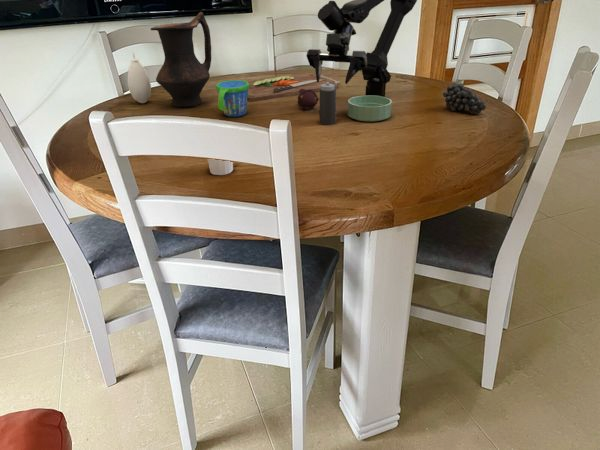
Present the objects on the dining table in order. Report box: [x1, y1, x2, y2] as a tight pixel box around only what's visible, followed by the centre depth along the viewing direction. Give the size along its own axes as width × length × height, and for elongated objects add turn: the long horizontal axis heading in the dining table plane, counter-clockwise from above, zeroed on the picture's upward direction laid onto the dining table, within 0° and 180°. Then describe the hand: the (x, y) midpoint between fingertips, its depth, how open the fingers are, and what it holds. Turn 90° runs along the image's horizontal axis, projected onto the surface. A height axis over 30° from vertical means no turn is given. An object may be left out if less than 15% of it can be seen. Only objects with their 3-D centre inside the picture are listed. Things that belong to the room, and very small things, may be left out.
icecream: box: [296, 89, 320, 111], centre depth 157 cm, size 7×7×15 cm
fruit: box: [442, 82, 487, 115], centre depth 150 cm, size 9×8×15 cm
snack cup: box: [215, 79, 249, 118], centre depth 153 cm, size 16×10×10 cm
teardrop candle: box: [127, 51, 152, 104], centre depth 167 cm, size 8×8×18 cm
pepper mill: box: [319, 82, 337, 126], centre depth 142 cm, size 5×5×13 cm
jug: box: [150, 11, 212, 108], centre depth 161 cm, size 21×18×30 cm
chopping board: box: [245, 72, 340, 102], centre depth 186 cm, size 45×27×3 cm, turn 117°
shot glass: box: [207, 159, 234, 176], centre depth 112 cm, size 7×7×7 cm
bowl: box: [347, 95, 393, 122], centre depth 149 cm, size 14×14×5 cm
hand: (331, 82), depth 144 cm, fingers open, 9 cm apart
